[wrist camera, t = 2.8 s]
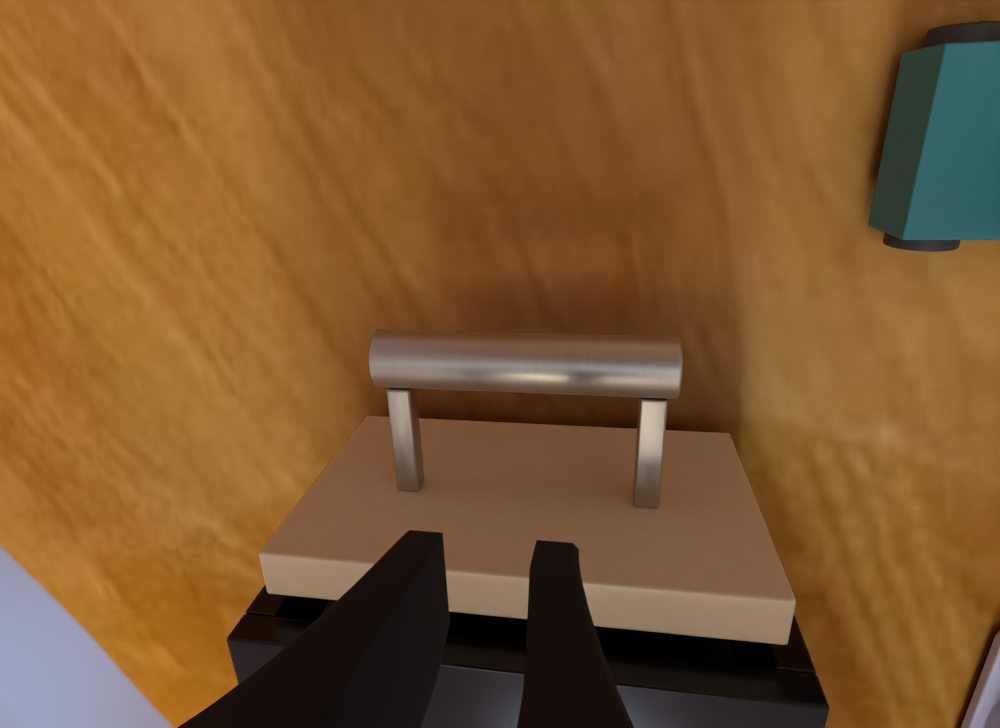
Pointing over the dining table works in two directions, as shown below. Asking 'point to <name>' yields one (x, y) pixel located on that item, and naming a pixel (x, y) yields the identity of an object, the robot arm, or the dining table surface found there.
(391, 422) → the drawer
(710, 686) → the black cabinet
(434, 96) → the dining table surface
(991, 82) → the toy car
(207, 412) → the dining table surface
